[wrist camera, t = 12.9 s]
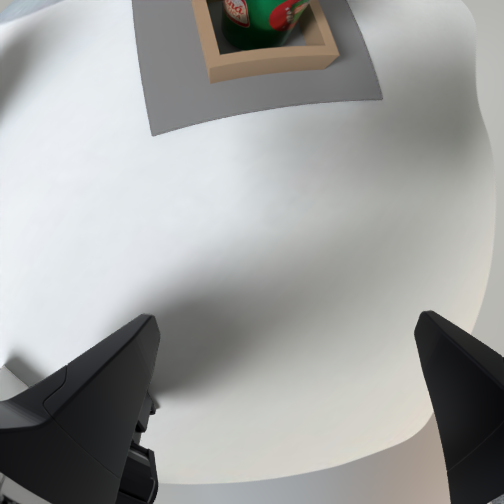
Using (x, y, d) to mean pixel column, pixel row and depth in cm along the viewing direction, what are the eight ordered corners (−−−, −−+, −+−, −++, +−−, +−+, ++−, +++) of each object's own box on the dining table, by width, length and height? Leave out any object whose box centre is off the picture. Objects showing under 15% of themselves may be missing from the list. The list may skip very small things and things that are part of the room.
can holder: (153, 136, 18) (140, 128, 14) (132, -2, 14) (123, -23, 11) (380, 100, 19) (403, 90, 15) (331, -23, 15) (345, -42, 12)
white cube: (34, 415, 22) (17, 445, 17) (0, 387, 21) (-20, 414, 15) (40, 396, 22) (21, 428, 16) (3, 364, 20) (-21, 392, 14)
